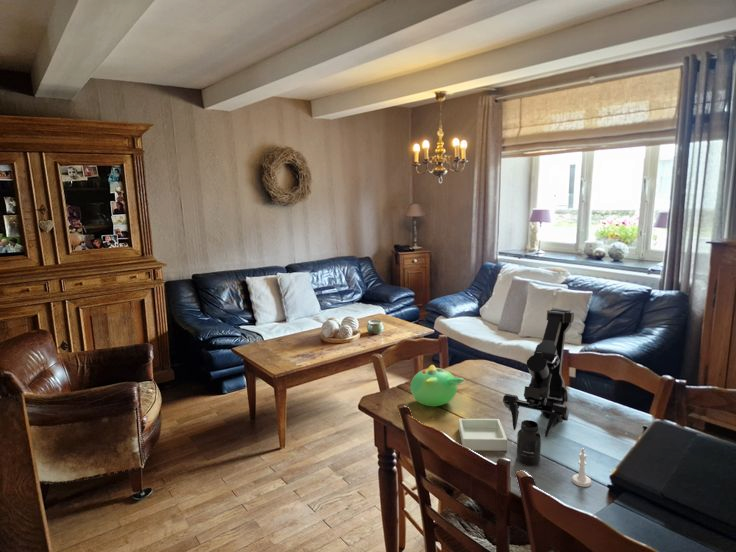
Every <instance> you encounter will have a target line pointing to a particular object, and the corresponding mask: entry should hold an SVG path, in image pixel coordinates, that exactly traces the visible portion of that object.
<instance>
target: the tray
mask: <svg viewBox="0 0 736 552" xmlns="http://www.w3.org/2000/svg"><path fill="white" fill-rule="evenodd" d="M502 425H503V424H502V423H501V421H500V418H458V431H459V436H460V440H461V441H460V442H461V445H463V446H466V447H468V448H470V449H472V450H471V451H491V452H492V451H493V452H494V451H499V452H501V451H503V452H504V451H505V452H506V451H508V438H507V434H506V432H505V430H504V428H503V426H502ZM463 446H462V447H463Z"/></svg>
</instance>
